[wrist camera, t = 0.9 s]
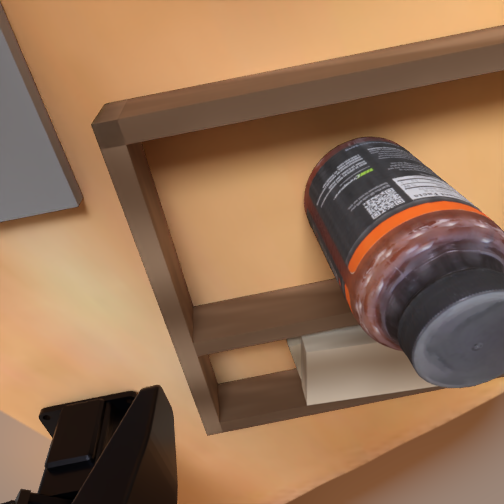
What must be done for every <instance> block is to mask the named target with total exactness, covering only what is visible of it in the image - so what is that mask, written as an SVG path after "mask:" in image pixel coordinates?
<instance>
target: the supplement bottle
mask: <svg viewBox="0 0 504 504" xmlns="http://www.w3.org/2000/svg"><path fill="white" fill-rule="evenodd" d="M304 207H305V211H306V214H307V218H308V220H309V223H310V226H311V228H312V229H313V232H314V234H315V236H316V238H317V240H318V242H319V244H320V246H321V248H322V251H323V253H324V255H325V257H326V259H327V261H328V263H329V265H330V268H331V269H332V272H333V274H334V276H335V278H336V280H337V282H338V284H339V286H340V289H341V291H342V293H343V295H344V298H345V300H346V301H347V303H348V304H349V307H350V309H351V311H352V313H353V315H354V317H355V319H356V320H357V322H358V323H359V325H360V326H361V328H362V329H363V330H364V331H365V332H366V333H367V334H368V335H369V336H370V337H371V338H372V339H374V340H375V341H376V342H378V343H379V344H382V345H384V346H386V347H389V348H392V349H394V350H398V351H402V352H404V353H405V355H406V356H407V357H408V359H409V361H410V362H411V364H412V366H413V368H414V369H415V371H416V373H417V374H418V375H419V376H420V377H421V378H422V379H424V380H425V381H426V382H428V383H431V384H433V385H436V386H440V387H446V388H463V387H471V386H476V385H479V384H481V383H485V382H488V381H490V380H492V379H494V378H496V377H498V376H500V375H502V374H504V231H503V230H502V229H501V228H500V227H499V226H498V225H497V224H496V223H494V222H493V221H492V220H491V219H490V218H489V217H487V216H486V215H485V214H484V213H482V212H481V210H479V209H478V208H477V207H476V206H474V205H473V204H472V203H471V202H469V201H468V200H467V199H466V198H465V197H463V196H462V195H461V194H460V193H458V192H457V191H456V190H455V189H453V188H452V187H451V186H450V185H448V184H447V183H446V182H445V181H444V180H442V179H441V178H440V177H439V176H438V175H436V174H435V173H434V172H433V171H432V170H431V169H429V168H428V167H427V166H425V165H424V164H423V163H422V162H421V161H419V160H418V159H417V158H416V157H414V156H413V155H412V154H411V153H410V152H409V151H407V150H406V149H405V148H403V147H401V146H400V145H398V144H397V143H395V142H392V141H390V140H387V139H384V138H379V137H361V138H356V139H353V140H350V141H348V142H345V143H343V144H341V145H338V146H337V147H336V148H334V149H332V150H331V151H330V152H328V153H327V154H326V155H325V156H324V157H323V158H322V159H321V160H320V161H319V163H318V164H317V165H316V166H315V167H314V169H313V171H312V173H311V175H310V177H309V179H308V182H307V185H306V189H305V197H304Z"/></svg>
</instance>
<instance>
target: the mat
mask: <svg viewBox="0 0 504 504" xmlns="http://www.w3.org/2000/svg"><path fill="white" fill-rule="evenodd" d="M82 198H83V196H82V193H81V191H80V189H79V186H78V184H77V182H76V179H75V177H74V175H73V172H72V170H71V168H70V165H69V163H68V160H67V158H66V156H65V153H64V151H63V149H62V146H61V144H60V142H59V139H58V137H57V135H56V132H55V130H54V128H53V125H52V123H51V120H50V118H49V116H48V113H47V111H46V109H45V106H44V104H43V102H42V99H41V97H40V95H39V92H38V90H37V87H36V85H35V83H34V80H33V78H32V76H31V73H30V71H29V69H28V66H27V64H26V62H25V59H24V57H23V54H22V52H21V50H20V47H19V45H18V43H17V40H16V38H15V36H14V33H13V31H12V29H11V26H10V24H9V22H8V19H7V17H6V14H5V12H4V10H3V7H2V5H1V3H0V222H3V221H8V220H13V219H18V218H23V217H28V216H33V215H38V214H43V213H48V212H53V211H59V210H64V209H69V208H74V207H78V206H79V204H80V202H81V200H82Z"/></svg>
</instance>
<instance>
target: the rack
mask: <svg viewBox="0 0 504 504" xmlns="http://www.w3.org/2000/svg"><path fill="white" fill-rule="evenodd" d="M502 70H504V25H502V26H497V27H492V28H487V29H481V30H476V31H471V32H466V33H461V34H456V35H451V36H446V37H441V38H436V39H431V40H426V41H421V42H416V43H411V44H406V45H400V46H395V47H390V48H385V49H380V50H375V51H370V52H365V53H360V54H355V55H350V56H345V57H340V58H335V59H330V60H324V61H319V62H314V63H309V64H304V65H299V66H294V67H289V68H284V69H279V70H274V71H269V72H264V73H259V74H254V75H249V76H243V77H238V78H233V79H228V80H223V81H218V82H213V83H208V84H203V85H198V86H193V87H188V88H183V89H178V90H173V91H167V92H162V93H157V94H152V95H147V96H142V97H137V98H132V99H127V100H122V101H117V102H112V103H107V104H105V105H104V106H103V108H102V109H101V111H100V112H99V113H98V115H97V116H96V118H95V119H94V121H93V122H92V124H91V126H92V128H93V131H94V134H95V136H96V139H97V142H98V144H99V147H100V150H101V152H102V155H103V158H104V160H105V163H106V166H107V168H108V171H109V174H110V176H111V179H112V182H113V184H114V187H115V190H116V192H117V195H118V198H119V201H120V203H121V206H122V209H123V211H124V214H125V217H126V219H127V222H128V225H129V227H130V230H131V233H132V235H133V238H134V241H135V243H136V246H137V249H138V251H139V254H140V257H141V259H142V262H143V265H144V267H145V270H146V273H147V275H148V278H149V281H150V283H151V286H152V289H153V291H154V294H155V297H156V299H157V302H158V305H159V307H160V310H161V313H162V316H163V318H164V321H165V324H166V326H167V329H168V332H169V334H170V337H171V340H172V342H173V345H174V348H175V350H176V353H177V356H178V358H179V361H180V364H181V366H182V369H183V372H184V374H185V377H186V380H187V382H188V385H189V388H190V390H191V393H192V396H193V398H194V401H195V404H196V406H197V409H198V412H199V414H200V417H201V420H202V422H203V425H204V428H205V431H206V433H207V436H208V435H213V434H218V433H223V432H228V431H233V430H238V429H243V428H248V427H253V426H258V425H263V424H268V423H273V422H278V421H283V420H288V419H293V418H298V417H303V416H308V415H313V414H318V413H323V412H328V411H334V410H339V409H344V408H349V407H354V406H359V405H364V404H369V403H374V402H379V401H384V400H389V399H394V398H399V397H404V396H409V395H414V394H419V393H424V392H429V391H434V390H439V389H444V388H446V387H440V386H435V387H429V388H422V389H415V390H408V391H402V392H395V393H388V394H381V395H375V396H368V397H361V398H354V399H348V400H341V401H334V402H327V403H321V404H314V405H307V404H306V400H305V396H304V392H303V388H302V381H301V378H300V376H299V373H298V370H297V369H292V370H287V371H282V372H277V373H272V374H267V375H262V376H257V377H252V378H247V379H242V380H237V381H231V382H226V383H221V384H217V381H216V377H215V374H214V371H213V368H212V365H211V362H210V358H209V355H208V354H212V353H218V352H223V351H228V350H233V349H238V348H243V347H248V346H253V345H258V344H263V343H268V342H273V341H278V340H283V339H288V338H293V337H298V336H303V335H308V334H313V333H318V332H323V331H328V330H333V329H338V328H344V327H349V326H354V325H359V323H358V322H357V320H356V319H355V317H354V315H353V313H352V311H351V309H350V307H349V304H348V303H347V301H346V300H345V298H344V295H343V293H342V291H341V289H340V286H339V284H338V282H337V280H336V279H331V280H326V281H320V282H315V283H310V284H305V285H300V286H295V287H290V288H285V289H280V290H275V291H270V292H265V293H260V294H255V295H250V296H245V297H240V298H235V299H230V300H225V301H220V302H215V303H210V304H204V305H199V306H194V307H193V305H192V301H191V298H190V295H189V292H188V289H187V286H186V282H185V279H184V276H183V273H182V270H181V267H180V263H179V260H178V257H177V254H176V251H175V248H174V244H173V241H172V238H171V235H170V232H169V229H168V225H167V222H166V219H165V216H164V213H163V210H162V206H161V203H160V200H159V197H158V194H157V191H156V187H155V184H154V181H153V178H152V175H151V172H150V168H149V165H148V162H147V159H146V156H145V153H144V149H143V146H142V143H141V142H143V141H148V140H153V139H158V138H163V137H168V136H173V135H178V134H183V133H188V132H193V131H198V130H203V129H208V128H213V127H218V126H224V125H229V124H234V123H239V122H244V121H249V120H254V119H259V118H264V117H269V116H274V115H279V114H284V113H289V112H294V111H299V110H305V109H310V108H315V107H320V106H325V105H330V104H335V103H340V102H345V101H350V100H355V99H360V98H365V97H370V96H375V95H380V94H385V93H391V92H396V91H401V90H406V89H411V88H416V87H421V86H426V85H431V84H436V83H441V82H446V81H451V80H456V79H461V78H466V77H472V76H477V75H482V74H487V73H492V72H497V71H502ZM500 377H504V374H502V375H500V376H498V377H496V378H500ZM494 379H495V378H494Z"/></svg>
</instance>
